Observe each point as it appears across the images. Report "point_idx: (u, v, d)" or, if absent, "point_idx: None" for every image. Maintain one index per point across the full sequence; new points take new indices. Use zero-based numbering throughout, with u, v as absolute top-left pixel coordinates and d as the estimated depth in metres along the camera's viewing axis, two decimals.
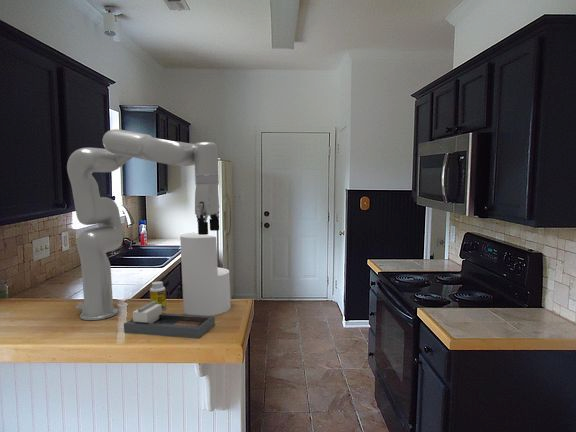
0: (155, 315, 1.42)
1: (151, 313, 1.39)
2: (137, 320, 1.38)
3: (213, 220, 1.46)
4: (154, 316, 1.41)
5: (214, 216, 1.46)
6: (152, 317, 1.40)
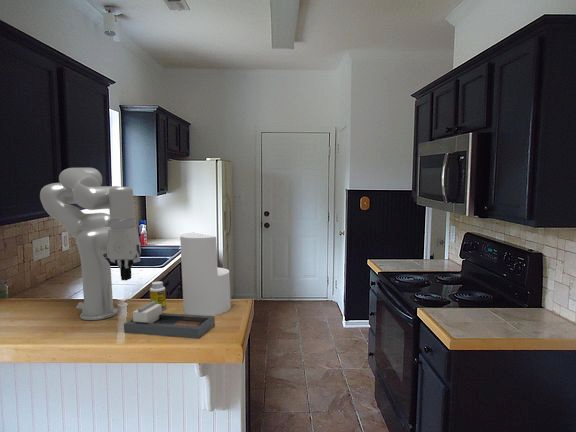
0: (155, 315, 1.42)
1: (151, 313, 1.39)
2: (137, 320, 1.38)
3: None
4: (154, 316, 1.41)
5: (123, 263, 1.42)
6: (152, 317, 1.40)
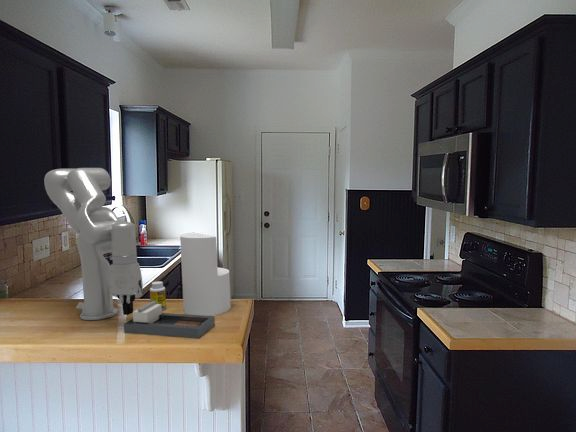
0: (155, 315, 1.42)
1: (151, 313, 1.39)
2: (137, 320, 1.38)
3: None
4: (154, 316, 1.41)
5: (125, 298, 1.43)
6: (152, 317, 1.40)
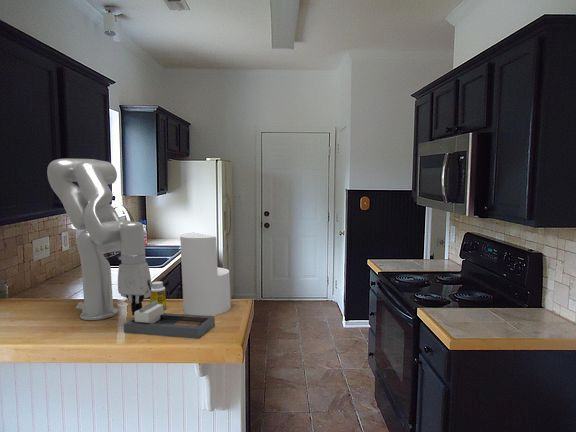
0: (156, 315, 1.42)
1: (152, 313, 1.39)
2: (138, 320, 1.38)
3: None
4: (155, 316, 1.41)
5: (133, 298, 1.43)
6: (153, 317, 1.40)
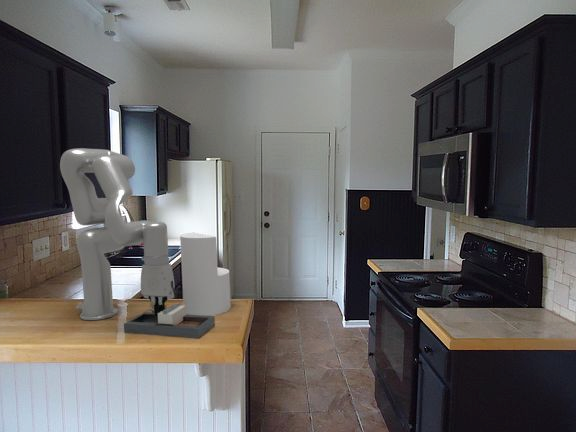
0: (180, 317, 1.40)
1: (176, 315, 1.37)
2: (162, 322, 1.36)
3: None
4: (179, 318, 1.39)
5: (156, 299, 1.41)
6: (177, 319, 1.38)
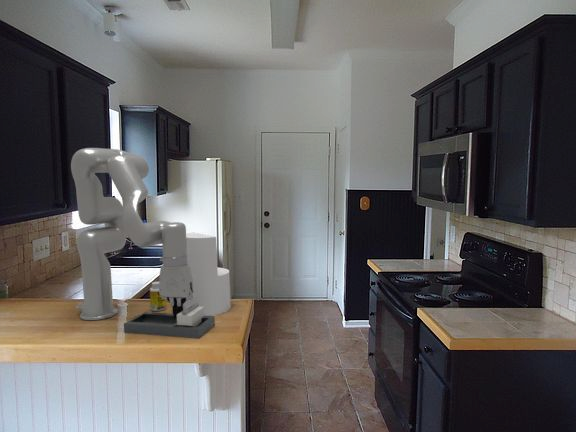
0: (198, 318, 1.38)
1: (195, 316, 1.36)
2: (181, 323, 1.34)
3: None
4: (197, 319, 1.37)
5: (174, 301, 1.39)
6: (196, 320, 1.36)
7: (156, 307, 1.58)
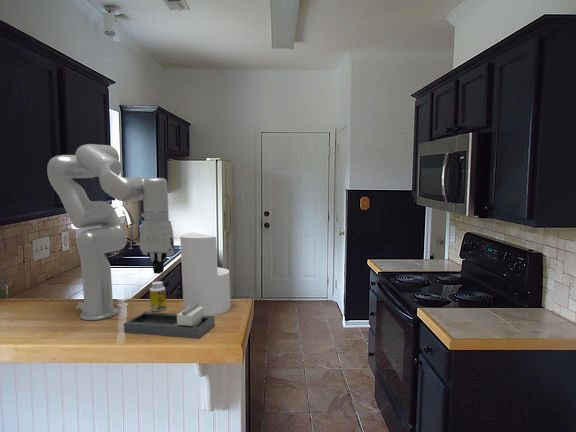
0: (198, 318, 1.38)
1: (195, 316, 1.36)
2: (181, 323, 1.34)
3: None
4: (198, 319, 1.37)
5: (155, 256, 1.39)
6: (196, 320, 1.36)
7: (156, 307, 1.58)
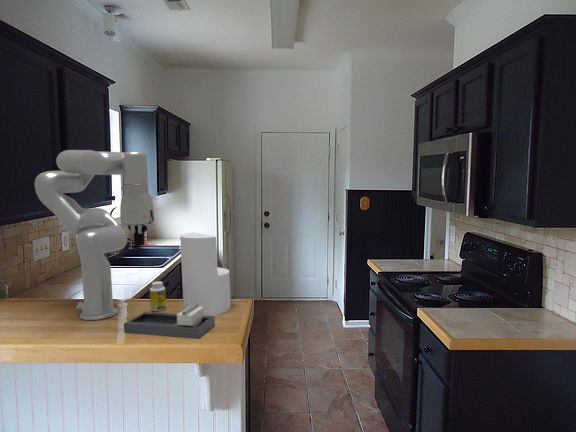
0: (198, 318, 1.38)
1: (195, 316, 1.36)
2: (181, 323, 1.34)
3: None
4: (198, 319, 1.37)
5: (136, 229, 1.42)
6: (196, 320, 1.36)
7: (156, 307, 1.58)
